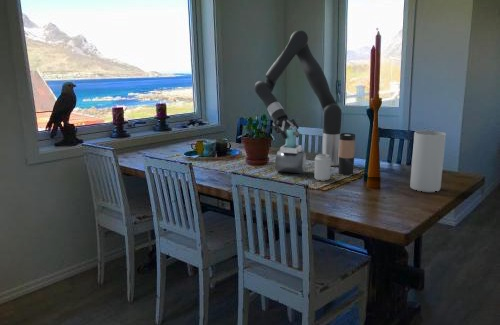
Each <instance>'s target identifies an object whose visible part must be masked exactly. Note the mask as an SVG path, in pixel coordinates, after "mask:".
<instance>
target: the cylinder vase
mask: <svg viewBox="0 0 500 325" xmlns="http://www.w3.org/2000/svg"><path fill="white" fill-rule="evenodd" d="M446 137H447V133H446V132H443V131H436V130H416V131H414V133H413V145H412V147H413V148H412V157H411V167H410V168H411V170H410V180H409V181H410V182H409V184H410V185H409V187H410V189H412V190H414V191H416V190H417V192H421V191H422V192H421V193H436V192H435V191H437V192H439V191H440V190H441V188H442V187H441V186H442V178H443V177H442V175H443V167H444V160H445V158H444V157H445V149H446V140H447V139H446Z"/></svg>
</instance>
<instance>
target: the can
mask: <svg viewBox="0 0 500 325" xmlns="http://www.w3.org/2000/svg"><path fill="white" fill-rule="evenodd" d="M330 162H331V158H330V157H329V155H327V154H322V153H318V154H316V155H315V157H314V179H315V180H316V181H319V180H321V181H320V182H324V181H325V180H327V181H328V180H329V179H330V178H331V166H330ZM325 182H326V181H325Z"/></svg>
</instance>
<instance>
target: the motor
mask: <svg viewBox="0 0 500 325" xmlns="http://www.w3.org/2000/svg"><path fill="white" fill-rule="evenodd" d="M302 147H303V145H300V144H296V148H288V147H286V143H285V144H284V145H282V146H280V148H279V150H278V151H277V152H276V156H275V163H274V164H275V165H274V166H275V169H276V172H282V173H292V174H293V173H294V174H304V173H305V170H306V165H307V164H306V163H307V156H306V152H305V151H302V150H303V148H302Z"/></svg>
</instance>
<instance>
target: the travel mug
mask: <svg viewBox="0 0 500 325" xmlns="http://www.w3.org/2000/svg"><path fill="white" fill-rule="evenodd" d="M355 149H356V134H355V133H351V132H349V133H348V132H344V133H340V143H339V165H338V174H339V175H342V174H343V176H351V175H350V174H352V175H353V174H354V167H355V166H354V165H355V164H354V163H355V153H356V152H355Z"/></svg>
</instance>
